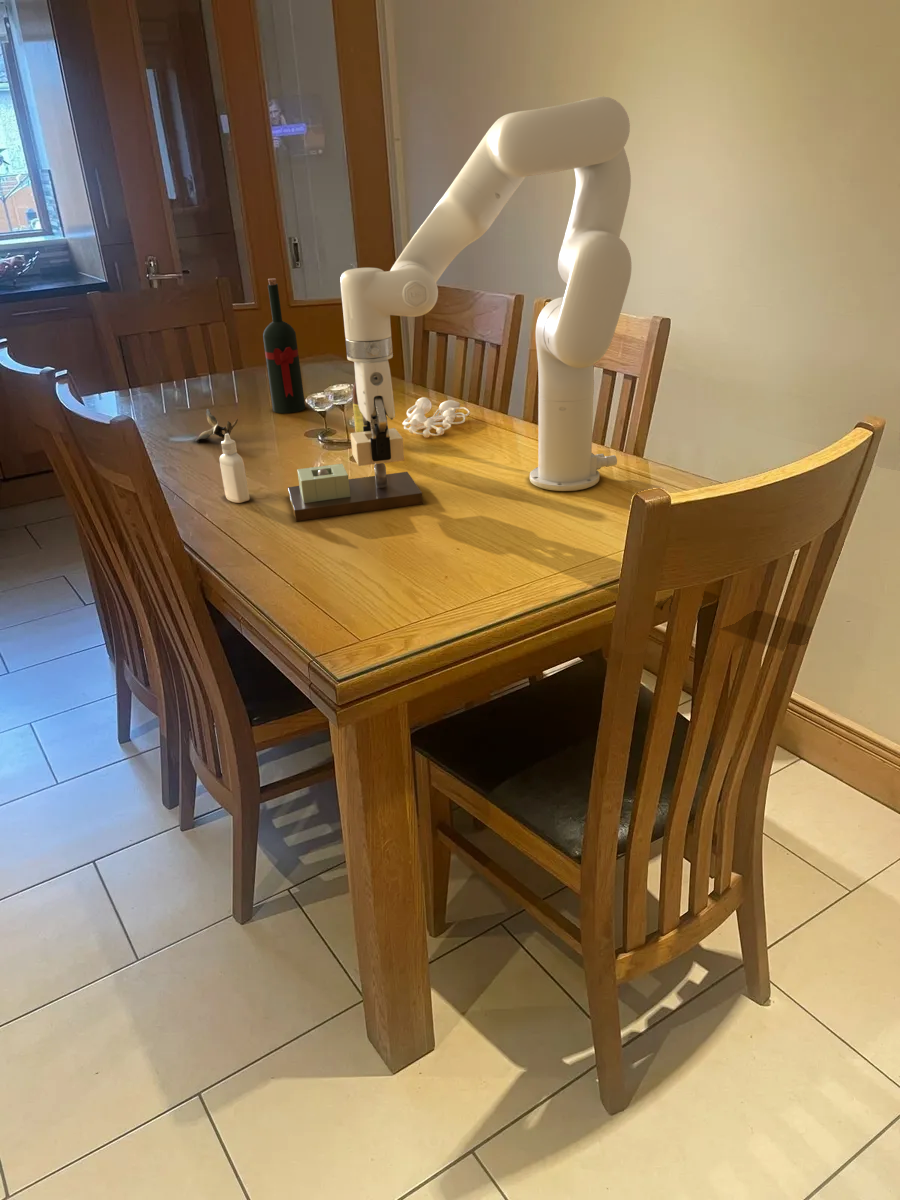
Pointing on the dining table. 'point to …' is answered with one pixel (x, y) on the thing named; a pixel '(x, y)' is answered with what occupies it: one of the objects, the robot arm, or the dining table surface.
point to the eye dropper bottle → (233, 472)
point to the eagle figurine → (215, 427)
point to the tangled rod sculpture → (422, 422)
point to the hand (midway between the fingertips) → (377, 452)
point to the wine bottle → (282, 359)
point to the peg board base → (361, 495)
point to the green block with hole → (323, 483)
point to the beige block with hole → (363, 447)
